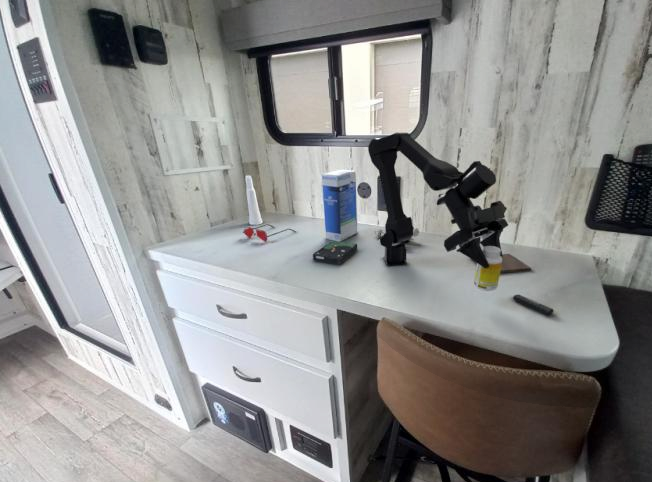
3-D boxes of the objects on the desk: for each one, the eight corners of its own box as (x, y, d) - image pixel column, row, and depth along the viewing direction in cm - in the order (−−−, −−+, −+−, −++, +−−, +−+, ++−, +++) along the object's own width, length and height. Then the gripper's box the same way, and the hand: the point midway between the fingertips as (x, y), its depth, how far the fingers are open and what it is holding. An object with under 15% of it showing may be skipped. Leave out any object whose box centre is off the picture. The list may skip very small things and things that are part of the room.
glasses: (243, 238, 127) (241, 226, 125) (273, 227, 140) (272, 217, 138) (266, 243, 120) (264, 231, 118) (296, 232, 133) (294, 221, 131)
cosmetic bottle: (252, 221, 150) (244, 174, 140) (264, 221, 149) (257, 174, 140) (247, 224, 144) (238, 176, 135) (259, 225, 144) (251, 176, 134)
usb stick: (554, 313, 74) (555, 308, 73) (548, 317, 73) (549, 311, 72) (517, 297, 81) (518, 292, 80) (511, 300, 80) (512, 295, 79)
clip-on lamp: (370, 247, 123) (409, 247, 112) (366, 233, 121) (405, 231, 110) (385, 237, 132) (423, 235, 121) (382, 223, 129) (420, 220, 118)
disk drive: (340, 266, 101) (357, 250, 113) (339, 258, 100) (357, 243, 112) (312, 261, 104) (332, 246, 117) (311, 254, 103) (332, 239, 116)
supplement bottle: (501, 290, 75) (510, 251, 71) (482, 293, 74) (489, 254, 69) (487, 280, 80) (494, 243, 76) (469, 283, 79) (475, 245, 74)
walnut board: (489, 274, 94) (489, 271, 93) (470, 259, 104) (471, 256, 104) (530, 270, 96) (531, 267, 95) (508, 256, 106) (509, 253, 106)
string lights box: (343, 230, 135) (341, 169, 124) (358, 233, 132) (356, 170, 121) (325, 239, 125) (320, 173, 114) (340, 242, 121) (337, 174, 110)
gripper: (460, 195, 65) (498, 260, 62) (508, 185, 75) (543, 240, 72) (429, 223, 74) (461, 280, 71) (475, 210, 84) (505, 260, 81)
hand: (494, 264), depth 73 cm, fingers closed on supplement bottle, 5 cm apart
